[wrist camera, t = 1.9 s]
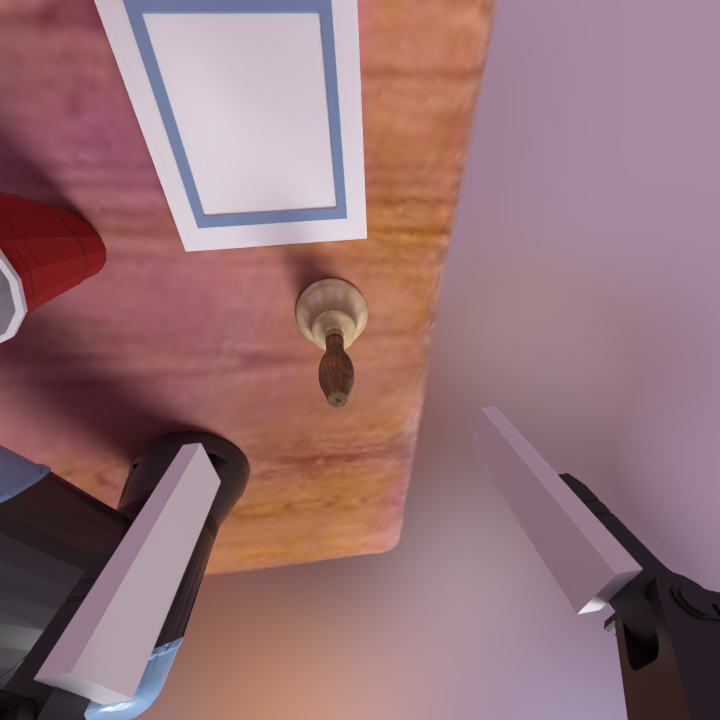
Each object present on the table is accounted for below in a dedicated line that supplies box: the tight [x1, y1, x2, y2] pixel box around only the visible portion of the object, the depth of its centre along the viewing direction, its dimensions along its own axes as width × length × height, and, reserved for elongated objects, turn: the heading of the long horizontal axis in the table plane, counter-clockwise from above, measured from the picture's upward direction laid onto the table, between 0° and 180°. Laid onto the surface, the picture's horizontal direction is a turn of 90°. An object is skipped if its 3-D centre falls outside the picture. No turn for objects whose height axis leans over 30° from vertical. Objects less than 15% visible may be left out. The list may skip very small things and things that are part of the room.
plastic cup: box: [0, 192, 106, 343], centre depth 18 cm, size 11×11×12 cm
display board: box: [94, 0, 367, 252], centre depth 20 cm, size 16×16×3 cm
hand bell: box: [296, 279, 368, 408], centre depth 23 cm, size 8×8×16 cm
